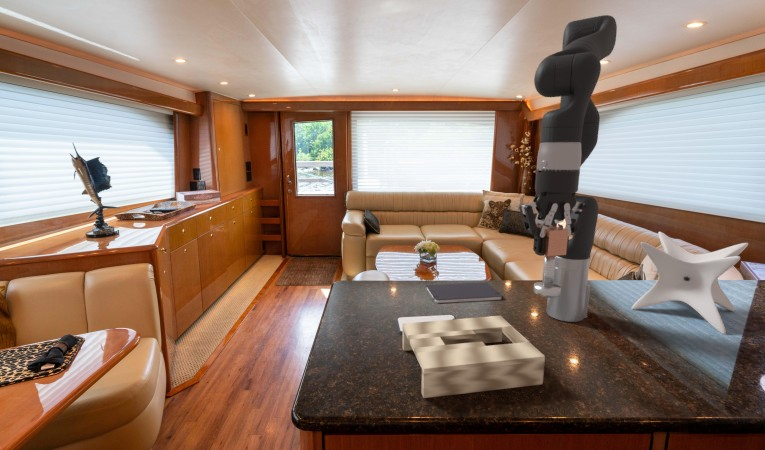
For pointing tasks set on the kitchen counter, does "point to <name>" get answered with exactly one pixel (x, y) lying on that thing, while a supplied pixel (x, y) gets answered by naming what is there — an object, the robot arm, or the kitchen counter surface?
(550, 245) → the footed peg
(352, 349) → the kitchen counter surface
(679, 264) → the white spiked concave cube
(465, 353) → the keyhole plate
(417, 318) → the smartphone
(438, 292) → the notebook
